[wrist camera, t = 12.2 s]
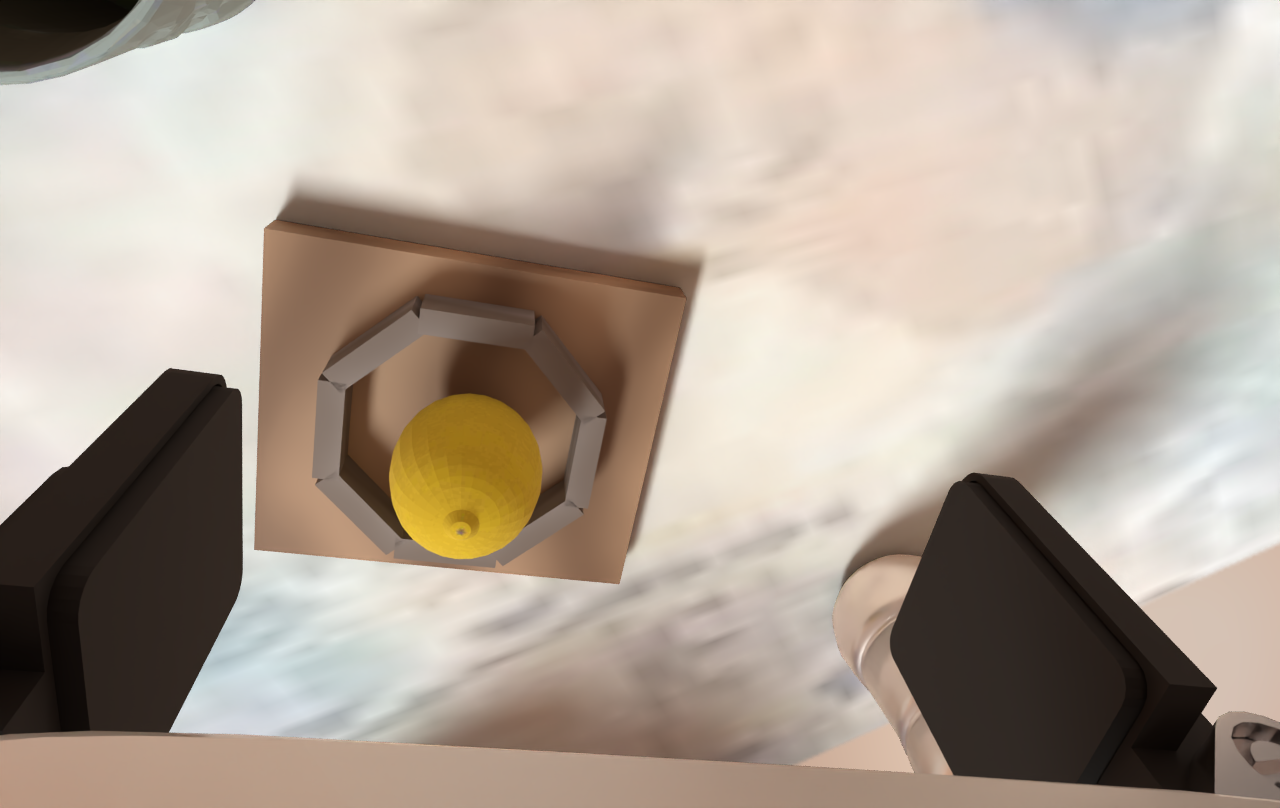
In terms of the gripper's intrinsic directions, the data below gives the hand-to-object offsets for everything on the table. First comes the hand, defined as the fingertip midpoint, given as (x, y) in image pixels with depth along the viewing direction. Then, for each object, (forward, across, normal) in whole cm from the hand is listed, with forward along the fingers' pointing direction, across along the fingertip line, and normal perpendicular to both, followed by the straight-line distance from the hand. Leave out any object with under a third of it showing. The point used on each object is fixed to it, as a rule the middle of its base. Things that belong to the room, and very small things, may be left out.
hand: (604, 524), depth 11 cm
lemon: (+22, +2, +10) cm, 25 cm away
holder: (+24, +3, +11) cm, 26 cm away
